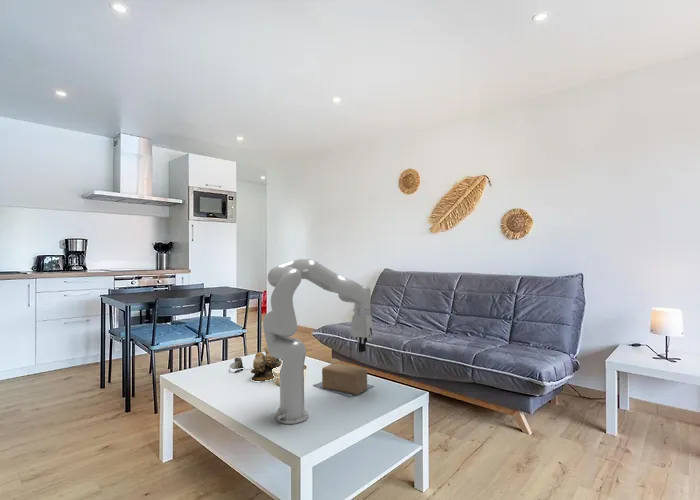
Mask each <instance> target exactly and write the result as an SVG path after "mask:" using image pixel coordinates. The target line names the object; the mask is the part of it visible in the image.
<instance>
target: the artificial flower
mask: <svg viewBox="0 0 700 500" xmlns="http://www.w3.org/2000/svg"><path fill="white" fill-rule="evenodd" d="M229 367H230V368H232V369H240V368H244V365H243V358H242V357H235V358H234V360H233V362H231V363H230V365H229ZM229 367H228V368H229ZM230 368H229V369H230Z"/></svg>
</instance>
